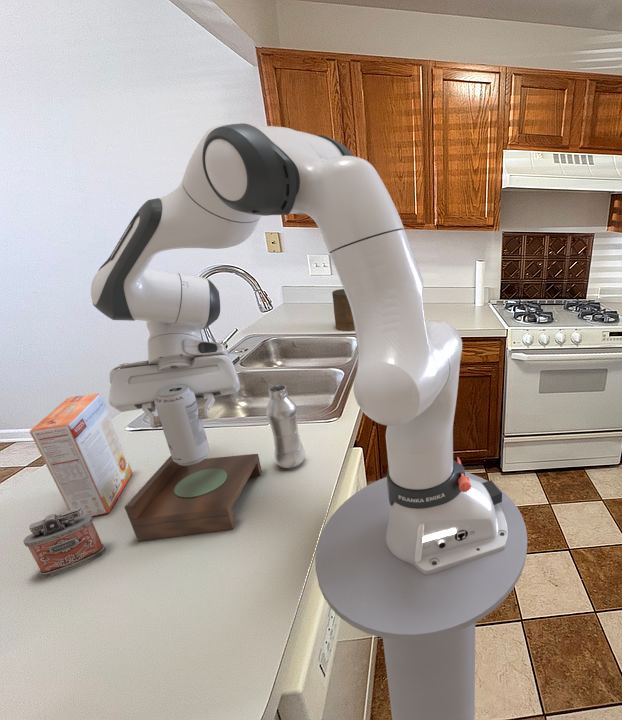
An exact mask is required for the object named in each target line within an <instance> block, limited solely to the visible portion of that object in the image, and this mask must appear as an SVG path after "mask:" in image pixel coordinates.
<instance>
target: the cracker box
mask: <svg viewBox="0 0 622 720" xmlns="http://www.w3.org/2000/svg"><path fill="white" fill-rule="evenodd" d="M29 434H30V436H31V438H32V439H33V441H34V444H35V445H36V447H37V449H38V451H39V453H40V455H41V457H42V459H43V462H44V463H45V465H46V468H47V469H48V472H49V473H50V475H51V478H52V479H53V481H54V483H55V485H56V487H57V490H58V491H59V494H60V495H61V497H62V499H63V501H64V503H65V505H66V507H67V510H68V511H69V510H72V509H75V508H78V507H79V508H82V511H83V515H91V516H92V518H93V517H97V516H102V515H105V514H110V512H111V511H112V509H113V507H114V505H115V504H116V502H117V500H118V499H119V497H120V495H121V494H122V492H123V490H124V489H125V487H126V485H127V484H128V482H129V480H130V478H131V477H132V476H133V470H132V468H131V465H130V463H129V460H128V458H127V455H126V452H125V450H124V448H123V445H122V443H121V440H120V437H119V435H118V433H117V430H116V428H115V425H114V423H113V420H112V418H111V414H110V413H109V410H108V407H107V405H106V402H105V400H104V398H103V395H102V393H101V392H100V393H93V394H87V395H86V394H85V395H77V396H70V397H67V398H66V399H65V400H63V401H62V402H61V403H60V404H58V406H57V407H56V408H54V409H53V410H52V411H51V412H50V413H49V414H48V415H46V416H45V417H44V418H43V419H42V420H41V421H39V422H38V423H37V424H36V425H34V427H32V428H31V429H30V430H29ZM83 515H82V516H83Z"/></svg>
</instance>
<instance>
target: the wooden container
mask: <svg viewBox="0 0 622 720" xmlns="http://www.w3.org/2000/svg"><path fill="white" fill-rule="evenodd" d="M331 295H332V303H333V314H334V322H335V328H336V329H337V330H340V331H355V326H354V320H353V315H352V311H351V308H350V304H349V301H348V299H347V296H346V293H345V291H344V288H339V289H336V290H335V289H334V290H333V291H332V293H331Z"/></svg>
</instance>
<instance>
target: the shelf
mask: <svg viewBox="0 0 622 720" xmlns="http://www.w3.org/2000/svg"><path fill="white" fill-rule="evenodd" d="M262 473H263V470H262V465H261V460H260V457H259V453H251V454H240V455H239V454H238V455H230V456H220V457H208V458H207V457H206V458H205V459H204V460H202V461H200V462H198V463H196V464H193V465H187V466H182V465H179V464H178V463H176V462H174V461H173V459H172V456H171V455H170V456H169V457H168V458H167V459H166V460H165V461H164V463H163V464H162V465H161V466H160V467H159V468H158V469H157V470H156V471H155V473H153V474H152V475H151V477H150V478H149V479H148V480H147V481H146V482H145V483H144V484H143V486H142V487H141V488H140V489H139V490H138V491H137V492H136V493H135V495H133V497H132V498H131V499H130V500H129V501H128V502H127V504H125V505H124V509H125V511H126V515H127V517H128V519H129V522H130V524H131V527H132V529H133V532H134V535H135V537H136V540H137V542H144V541H152V540H159V539H167V538H168V539H169V538H175V537H176V538H177V537H183V536H190V535H191V536H192V535H199V534H208V533H214V532H215V533H217V532H222V531H231V530H234V528H235V526H236V525H237V524H236V520H235V516H234V512H233V508H234V506H235V504H236V502H238V499H239V497H240V495H241V493H242V491H243V490H244V488H245V486H246V484H247V482H248V481H249V479H250V477H257V476H261V475H262Z"/></svg>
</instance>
